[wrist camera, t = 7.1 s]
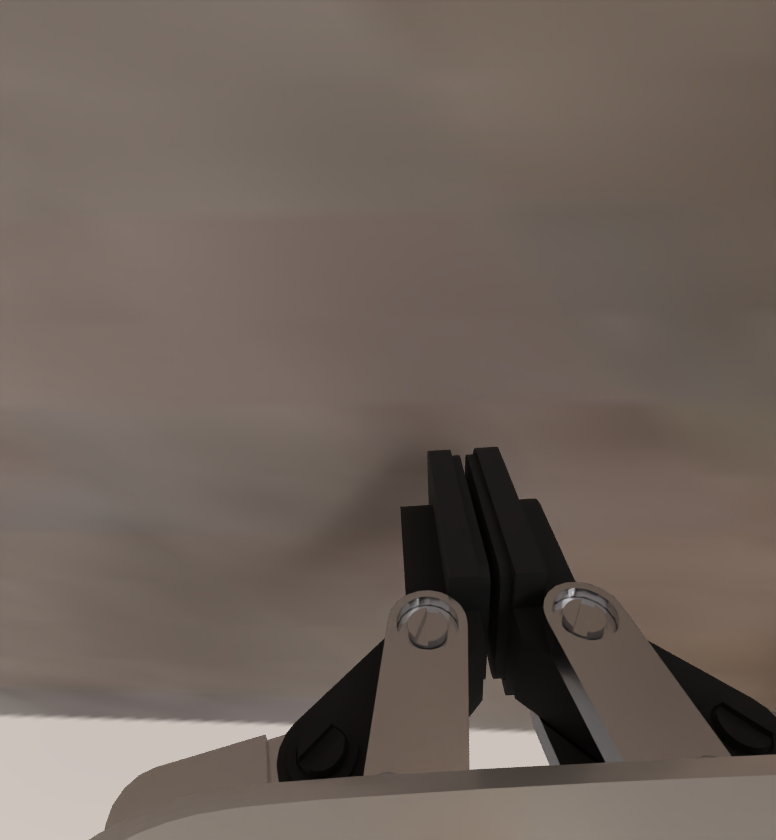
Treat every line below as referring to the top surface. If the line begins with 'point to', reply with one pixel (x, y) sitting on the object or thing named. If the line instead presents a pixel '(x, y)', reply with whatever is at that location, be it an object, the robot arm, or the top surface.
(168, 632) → the top surface
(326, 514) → the top surface
